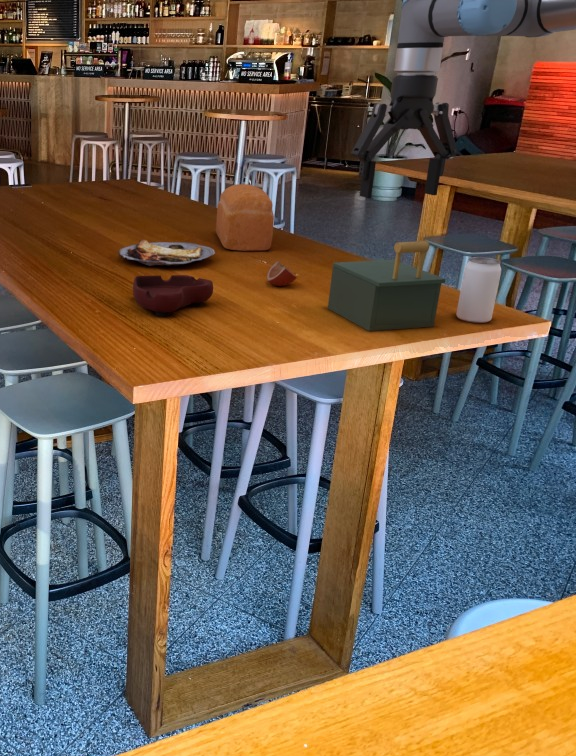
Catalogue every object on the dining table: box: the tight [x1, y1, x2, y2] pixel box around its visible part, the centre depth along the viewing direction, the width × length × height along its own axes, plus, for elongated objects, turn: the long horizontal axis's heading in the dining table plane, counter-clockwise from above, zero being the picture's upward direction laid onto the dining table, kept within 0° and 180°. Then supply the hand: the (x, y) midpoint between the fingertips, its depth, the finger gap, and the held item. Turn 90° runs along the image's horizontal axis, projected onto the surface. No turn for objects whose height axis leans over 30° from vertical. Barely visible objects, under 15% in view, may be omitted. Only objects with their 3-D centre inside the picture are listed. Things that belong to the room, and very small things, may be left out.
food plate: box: [117, 239, 216, 267], centre depth 209 cm, size 25×23×4 cm
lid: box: [332, 240, 446, 287], centre depth 156 cm, size 17×14×8 cm
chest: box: [327, 266, 442, 332], centre depth 159 cm, size 16×14×9 cm
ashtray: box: [132, 274, 214, 318], centre depth 169 cm, size 18×16×5 cm
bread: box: [215, 183, 275, 252], centre depth 228 cm, size 14×26×16 cm, turn 175°
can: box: [455, 256, 502, 324], centre depth 158 cm, size 6×6×12 cm
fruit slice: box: [266, 260, 298, 287], centre depth 184 cm, size 8×7×5 cm
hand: (398, 195), depth 149 cm, fingers open, 13 cm apart
